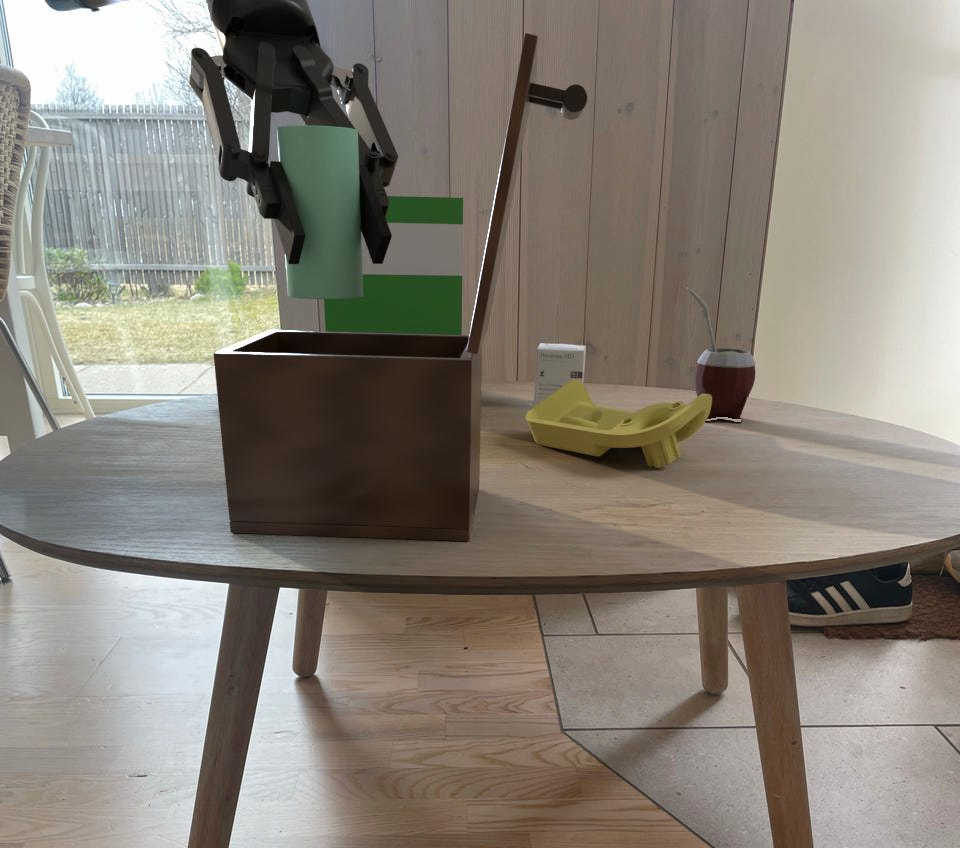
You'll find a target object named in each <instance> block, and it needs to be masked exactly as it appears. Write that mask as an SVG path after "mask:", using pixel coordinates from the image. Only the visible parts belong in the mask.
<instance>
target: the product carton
mask: <svg viewBox="0 0 960 848" xmlns="http://www.w3.org/2000/svg"><path fill="white" fill-rule="evenodd" d="M586 353H587V345H586V344H570V343H569V344H568V343H567V344H566V343H547V342H546V343H545V342H544V343H543V342H541V343H539V345H538V347H537V348H536V358H535V377H534V378H535V379H534V391H533V392H534V393H533V407H534V406H536V405H537V404H538V403H540V402H541V401H543V400H544V399H545V398H547V397H548V396H549V395H551V394H552V393H554V392H555V391H556V390H558V389H559V388H561V387H562V386H563V385H565V384H566V383H568V382H569V381H570V380H578V381H580V382H582V383H583V384H584V380H585V378H584V377H585V367H586V366H585V365H586Z"/></svg>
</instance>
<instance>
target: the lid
mask: <svg viewBox="0 0 960 848" xmlns="http://www.w3.org/2000/svg"><path fill="white" fill-rule="evenodd" d="M538 41H539V36H538V35H537V34H532V33H528V32H525V33H524V36H523V42H522V47H521V52H520V59H519V63H518V69H517V74H516V80H515V84H514V91H513V97H512V102H511V107H510V113H509V118H508V124H507V127H506V134H505V140H504V145H503V151H502V155H501V162H500V167H499V171H498V172H499V173H498V178H497V184H496V188H495V194H494V200H493V205H492V209H491V210H492V211H491V216H490V220H489V226H488V233H487V237H486V242H485V243H486V244H485V249H484V255H483V260H482V265H481V271H480V275H479V282H478V287H477V292H476V298H475V304H474V310H473V315H472V319H471V325H470V331H469V341H468V346H467V352H469V353H474V354H478V352H479V350H480V347H481V345H482V346H483V342H484V340H485V337H486V335H487V333H488V329H489V323H490V319H491V314H492V310H493V309H492V307H493V302H494V298H495V294H496V293H495V291H496V287H497V283H498V277H499V272H500V266H501V261H502V255H503V250H504V245H505V240H506V236H507V235H506V234H507V230H508V225H509V220H510V214H511V210H512V209H511V208H512V204H513V203H512V202H513V197H514V193H515V187H516V183H517V177H518V173H519V172H518V171H519V167H520V161H521V156H522V151H523V147H524V140H525V135H526V130H527V124H528V120H529V115H530V110H531V105H537V106H540V107H546V108H550V109H555V110H558V111H559V110H560V112H561V114H562V116H563V118H565V119H566V120H569V121H574V120H577V119H578V118H580V117H581V116H582V114H583V112H584V110H585V108H586V106H587V103H588V93H587V92H588V91H587V90H586V88H585V87H583V86H582V85H580V84H577V83H576V84H575V83H574V84H571V85H569V86H568V87H566V89H561V88H557V87H553V86H548V85H545V84H544V85H543V84H539V83H535V82H536V77H537V71H538V70H537V69H538V67H537V66H538V48H539V47H538V45H539V44H538V43H539V42H538Z"/></svg>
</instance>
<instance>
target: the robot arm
mask: <svg viewBox="0 0 960 848" xmlns="http://www.w3.org/2000/svg"><path fill="white" fill-rule="evenodd" d="M138 1H139V0H44V2H45V3H46V5H47V7H49V8H50V9H51V10H52V11H54V12H56V13H59V14H67V13H76V12H77V13H78V12H84V11H88V12H92V13H97V12H99V11H101V9H103V8H108V7H113V6H118V5H122V4H123V5H124V4H127V3H133V2H138ZM204 4H205V6H206V9H207V12H208V13H207V14H208V17H209V20H210V22H211V25H212V29H213V32H214V35H215V39H216V42H217V44H218V45H217V46H218V49H219V50H220V54H219V55H213V56H211V55H210V54H209V52H208V51H206V50H205V49H203V48H201V47H193V48H191V50H190V61H189V62H190V63H189V77H188V84H189V86H190V87H191V88H192V90H193V91H194V93H195V94H196V96H197V97H198V99H199V100H200V102H201V104H202V107H203V111H204V116H205V120H206V124H207V129H208V133H209V136H210V140H211V144H212V148H213V153H214V157H215V160H216V164H217V167H218V173H219V177H221V178H222V179H223V180H225V181H227V182H234V181H236V180H237V179H240V180H243V181H244V182H246V185H245V192H246V193H247V195H249V196H250V197H251V198H252V197H253V198H254V199H255V202H256V206H257V210H258V212H259V215H260V216H261V217H262V218H263V219H265V220H273V221H274V224H275V226H276V227H275V228H276V230H277V233H278V237H279V240H280V242H281V243H280V244H281V246H282V249H283V252H284V256H285V255H286V258H287V261H288V264H299V261H300V257H301V252H302V248H303V244H304V239H305V232H304V229H303V226H302V223H301V220H300V217H299V214H298V211H297V208H296V205H295V202H294V199H293V196H292V193H291V190H290V187H289V184H288V181H287V178H286V175H285V172H284V168H283V166H282V163H281V162H280V161H279V160H278V161H277V160H270V162H269V159H270V144H271V142H270V141H271V125H272V114H273V113H275V114H278V113H285V112H288V113H292V114H296V115H299V116H300V118H301V119H302V121H303V122H304V123H305V125H306V126H333V127H344V128H352V129H356V130H358V151H359V181H360V211H361V231H362V234H363V237H364V240H365V243H366V246H367V248H368V251H369V254H370V257H371V260H372V263H373V264H383V261H384V258H385V255H386V252H387V249H388V246H389V243H390V240H391V237H392V235H391V232H390V229H389V226H388V224H387V221H386V218H385V216H386V213H387V210H388V207H389V199H388V197H387V196H388V194H387V192H386V189H385V188H386V187H387V188H388V187H389V186H390V184H391V182H392V179H393V177H394V174H395V173H394V172H395V170H396V167H397V163H398V159H399V154H398V152H397V149H396V147H395V144H394V143H393V140H392V138H391V136H390V135H391V134H390V133H389V131H388V128H387V126H386V125H385V122H384V119H383V117H382V115H381V112H380V110H379V108H378V106H377V103H376V101H375V99H374V96H373V94H372V92H371V89H370V87H369V73H370V72H369V68H368V67H367V66H366V65H365V64H363V63H359V62H355V63H354V64H353V66H352V70H349V69H345V68H341V67H338V66H335V65H334V63H333V60H332V59H331V57H330V56H329V55H328V54H327V53H326V51H324V50H323V48H322V45H321V41H320V37H319V32H318V28H317V25H316V22H315V20H314V17H313V14H312V12H311V11H312V10H311V8H310V6H309V3H308V1H307V0H204ZM225 80H226V81H228V82H229V83H230V84H232V85H233V86H234V87H235V88H236V89H237V90H239V91H240V92H241V93H242V94H243V95H245V96H246V97H247V98H248V99H249V100H251V104H250V105H251V107H250V118H249V119H250V128H249V143H248V150H245V149H243V148H242V147H241V143H240V139H239V135H238V131H237V128H236V123H235V120H234V115H233V111H232V108H231V104H230V100H229V95H228V92H227V89H226V84H225ZM332 87H333V88H335V89H336V91H337V93H338V95H339V96H340V98H339V99H340V100H339V102H340V104H342V105H343V106H345V107H346V108H345V109H346V113H345V112H344V110H343V109H342V108H341V106H340V105H339V103H338V102H337V101H336V99H335V98H334V94H333V93H334V91H333V89H332ZM346 114H347V115H346Z"/></svg>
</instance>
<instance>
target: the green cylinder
mask: <svg viewBox="0 0 960 848" xmlns="http://www.w3.org/2000/svg"><path fill="white" fill-rule="evenodd" d="M276 138H277V151H278V161H280V162H281V163H282V166H283V168H284V172H285V175H286V178H287V181H288V184H289V187H290V190H291V193H292V196H293V199H294V202H295V205H296V208H297V211H298V214H299V217H300V220H301V223H302V226H303V229H304V232H305V239H304V244H303V248H302V252H301V257H300V261H299V264H288V261H287V258H286V255H285V254H284V259H285V260H284V261H285V274H286V275H285V276H286V290H287V297H288V298H293V299H294V298H295V299H307V300H324V299H352V298H360V297H363V272H362V242H361V211H360V181H359V151H358V130H356V129H352V128H344V127H333V126H307V125H306V124H305V125H304V124H303V125H301V124H299V125H282V126H278V127H276Z"/></svg>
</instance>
